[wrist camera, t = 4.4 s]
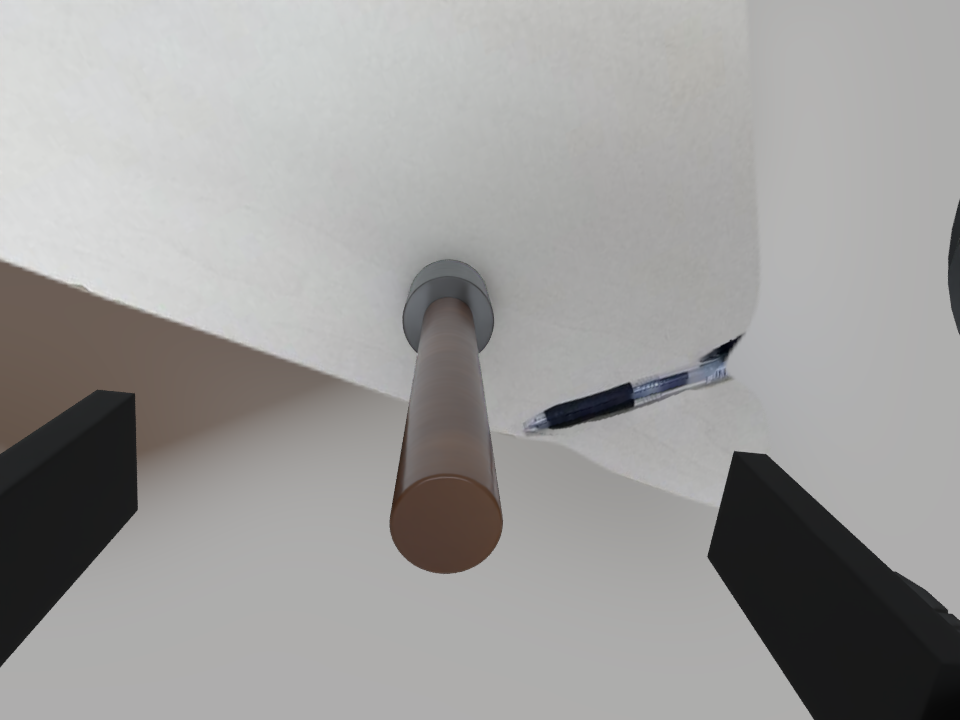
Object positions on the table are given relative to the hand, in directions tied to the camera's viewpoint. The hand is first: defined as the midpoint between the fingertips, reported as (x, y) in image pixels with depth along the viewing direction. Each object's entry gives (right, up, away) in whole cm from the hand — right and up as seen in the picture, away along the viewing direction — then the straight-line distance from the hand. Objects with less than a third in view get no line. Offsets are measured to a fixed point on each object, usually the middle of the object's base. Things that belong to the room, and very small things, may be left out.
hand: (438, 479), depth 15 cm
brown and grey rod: (-1, +6, +19) cm, 20 cm away
